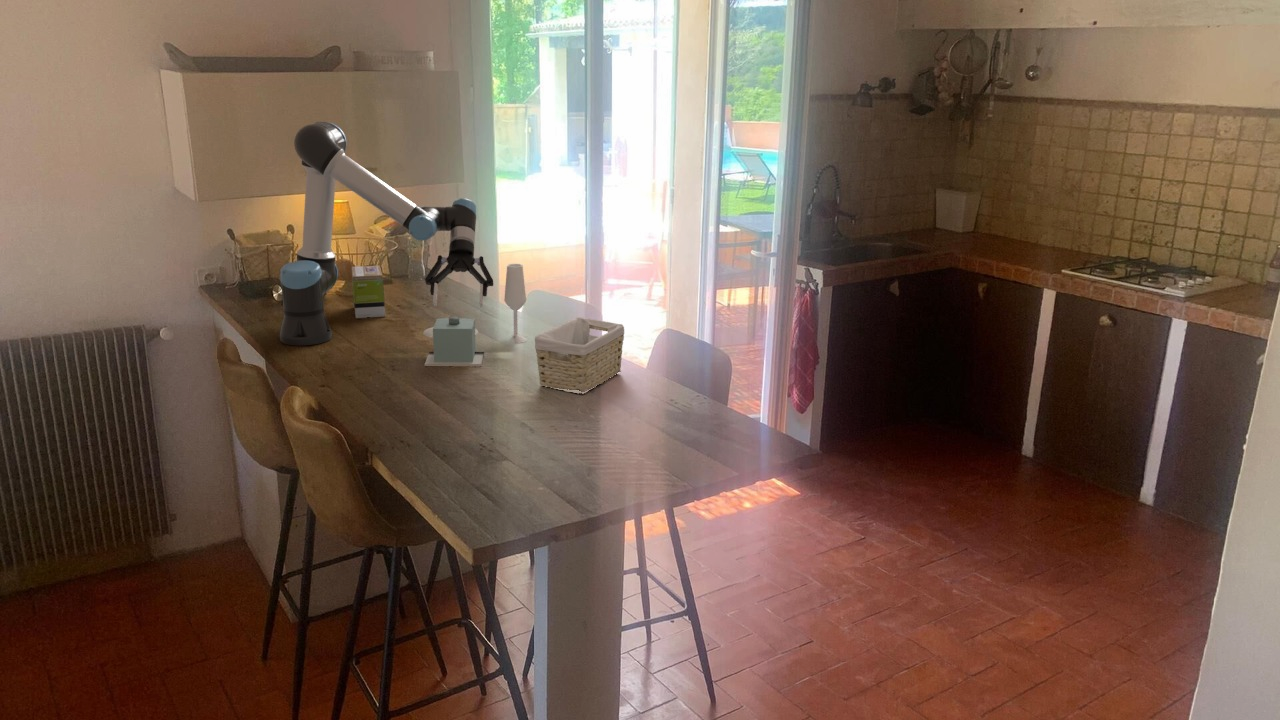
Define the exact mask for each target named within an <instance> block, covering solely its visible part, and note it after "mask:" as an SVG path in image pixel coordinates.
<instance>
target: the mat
mask: <svg viewBox="0 0 1280 720" xmlns="http://www.w3.org/2000/svg"><path fill="white" fill-rule="evenodd" d="M484 355H485V351H475V355H474V359H473V362H434V351H429V352H428V354H427V357H426V359H425V363H424V367H425V366H470V368H473V367H474V366H476V367H480V366H481V367H482V365H483V361H484V360H483V359H484ZM472 366H473V367H472Z"/></svg>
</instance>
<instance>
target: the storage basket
mask: <svg viewBox="0 0 1280 720" xmlns="http://www.w3.org/2000/svg"><path fill="white" fill-rule="evenodd" d="M591 329H592V330H596V331H597V330H598V331H602V332H607V333H604V334H602V335H601V336H595V335H590V332H591V331H590V330H591ZM624 335H625V326H624V325H623V324H622V323H621V324H620V323H615V322H610V321H605V320H597V319H592V318H584V317H575V318H574V319H571V320H569V321H566V322H564V323H562V324H560V325H557V326H556V327H554V328H551V329H548V330H547V331H544V332H541V333H539V334H537V335H536V336H535V337H534V343H535V344H534V349H535V354H536V361H537V370H538V376H539V385H540V386H541V385H542V386H547V387H552V388H559V389H567V390H568V389H569V390H579V391H581V392H585V391H587V390H589V389H591V388H593V387H595V386H596V385H599V384H601V383H602V384H604V383H605V382H607V381H608V380H607V379H609V378H610V377H612V376H614V375H615V374H617V373H618V372H622V370H621V367H622V359H623V358H622V355H623V345H624V340H625V336H624ZM617 375H618V374H617ZM614 377H615V376H614ZM612 378H613V377H612ZM610 379H611V378H610ZM610 379H609V380H610ZM606 380H607V381H606ZM604 381H605V382H604ZM603 382H604V383H603ZM602 384H601V385H602ZM542 386H541V387H542ZM599 386H600V385H599ZM595 388H596V387H595Z"/></svg>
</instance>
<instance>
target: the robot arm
mask: <svg viewBox="0 0 1280 720" xmlns="http://www.w3.org/2000/svg"><path fill="white" fill-rule="evenodd" d="M346 137H347V136H346V134H345V133H344V131H343V130H342V129H341V128H340V127H339V125H336V124H335V123H332V122H329V121H317V122H315V123H311V124H307V125H304V126H303V127H301V128H300V129H298V131H297V132H296V134H295V136H294V141H293V146H294V150H295V153H296V154H297V156H298V157H299V159H300V160H301V166H302V168H304V170H305V172H306V175H305V192H304V193H305V194H304V212H303V213H304V214H303V227H302V228H303V230H302V231H303V232H302V247H301V248H299V249H298V250H297V251H296V260H295V261H294V260H293V261H292V262H288V263H286V264H284V265H283V266H282V267H281V268H280V274H279V277H280V278H279V281H280V287H281V288H280V289H281V299H282V307H283V318H282V322H281V328H280V331H279V341H280V342H281V343H282V344H285V345H289V346H296V347H297V346H298V347H299V346H313V345H319V344H323V343H326V342H329V341H330V340H331V339H332V337H333V334H332V328H331V327H330V325H329V322H328V319H327V317H326V315H325V310H324V309H325V308H324V307H325V306H324V295H325V294H326V293H328V292H329V291H330V290H331V289H333V288H334V286H335V285H336V282H337V281H338V276H339V271H338V266H337V265H336V254H335V252H334V251H333V250H332V241H333V224H334V223H333V222H334V209H335V207H334V206H335V195H336V181H337V182H338V183H340V184H342V185H343V186H345V187H346V188H347V189H349V190H350V191H352V192H354V193H355V194H356V195H358V196H359V197H361V198H362V199H364V200H365V201H366V202H367V203H369V204H370V205H372V206H373V207H375V208H376V209H377V210H379V211H380V212H382V213H383V214H385V215H387V216H388V217H389V218H390V219H392V220H393V221H395V222H396V223H398V224H399V225H400V226H402V227H403V228H405V229H406V230H407V231H409V234H410V236H411V237H412V238H413V239H415V240H416V241H421V242H423V241H428V240H430V239H431V238H433V237H434V236H435V235H436V233H437V232H445V231H446V232H450V233H449V234H450V235H449V245H448V247H449V249H448V256H447V257H445V256H444V257H443V256H442V255H438V256H437V259H436V262H435V263H434V265H433V267H432V268H431V269H430V271H429V272H428V274H427V275H426V276H425V278H424V280H425V281H424V282H425V284H426V285H427V286H430V296H433V297H432V298H433V299H432V304H433V306H434V307H437V306H438V305H437V304H438V293H439V287H438V286H439V283H441V282H442V281H443V280H444V279H445V278H446V277H447V276H449V275H450V274H452V273H453V272H455V273H459V272H461V273H466V272H468V273H469V274H470V275H472V276H473V278H474V279H476V281H477V282H478V283H479V285H480V286H479V288H480V289H479V308H483V305H484V297H487V295H488V288H489V287H494V279H493V277H492V275H491V273H490V272H489V269H488V268H487V266H486V264H485V262H484V256H479V257H475V256H474V255H475V241H476V239H475V238H476V226H477V225H476V223H477V205H476V204H475V202H474V201H473V200H471V199H468V198H464V197H463V198H459V199H455V200H454V201H453V202H452V205H451V206H423V205H422V206H419V205H417V204H416V203H414V202H413V201H411V200H410V199H409V198H407V197H406V196H405V195H403V194H401V192H399V191H397V190H396V189H395V188H393V187H392V186H390V185H389V184H387V183H386V182H384V181H383V180H381V179H380V178H379V177H377V176H376V175H375V174H373V173H372V172H371V171H369V170H367V169H366V168H365V167H363V166H362V165H360V164H359V163H358V162H356V161H355V160H353V159H352V158H351V157H349V156H347V155H346V153H345V152H346V148H347V143H348V142H347V138H346ZM445 263H447V264H446V266H445V267H444V268H443V269H442V266H444V265H445ZM475 264H476V265H477V266H479V267H480V270H481V271H482V273H483V275H484V277H485V278H484V277H483V276H482V275H481V273H480V272H479V271H478V269H476V268H475V266H474V265H475ZM441 269H442V270H441ZM440 270H441V271H440ZM439 271H440V272H439ZM438 272H439V273H438Z"/></svg>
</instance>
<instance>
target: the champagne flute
mask: <svg viewBox="0 0 1280 720" xmlns="http://www.w3.org/2000/svg"><path fill="white" fill-rule="evenodd" d="M526 295H527V294H526V285H525V275H524V266H523V264H521V263H508V264H507V265H506V276H505V287H504V299H503V300H504V303H505V304H506V306H507V307H508V308H509V309H510V310H513V334H512V335H511V336H512V337H514V338H515V339H514V343H515V344H521V343H525V342H526V341H527V338H526V337H523V336H522V335H519V334H518V332H519V331H518V311H519V310H520V309H522V308H523V306H524V305H525V304H526V302H527V296H526Z"/></svg>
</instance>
